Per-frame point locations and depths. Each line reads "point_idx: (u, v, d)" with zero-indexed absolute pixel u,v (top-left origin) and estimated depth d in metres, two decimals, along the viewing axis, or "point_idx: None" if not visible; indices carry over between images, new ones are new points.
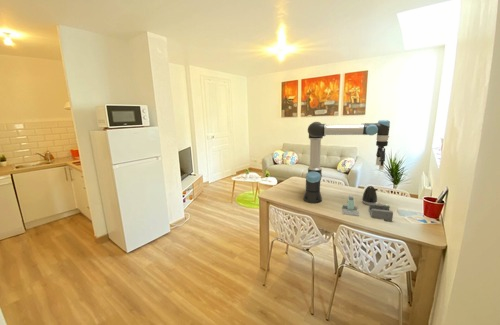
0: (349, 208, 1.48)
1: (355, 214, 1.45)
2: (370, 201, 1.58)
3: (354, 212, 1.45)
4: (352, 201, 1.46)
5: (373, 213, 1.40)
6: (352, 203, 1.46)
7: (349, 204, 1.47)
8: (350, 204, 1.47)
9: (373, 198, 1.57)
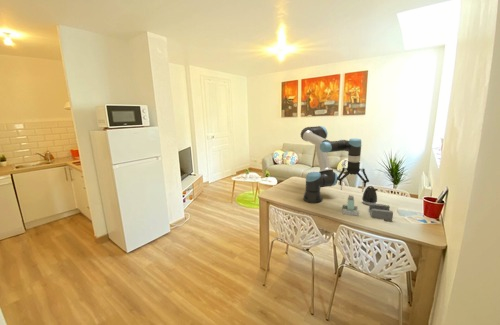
0: (349, 208, 1.48)
1: (355, 214, 1.45)
2: (370, 201, 1.58)
3: (354, 212, 1.45)
4: (352, 201, 1.46)
5: (373, 213, 1.40)
6: (352, 203, 1.46)
7: (349, 204, 1.47)
8: (350, 204, 1.47)
9: (373, 198, 1.57)
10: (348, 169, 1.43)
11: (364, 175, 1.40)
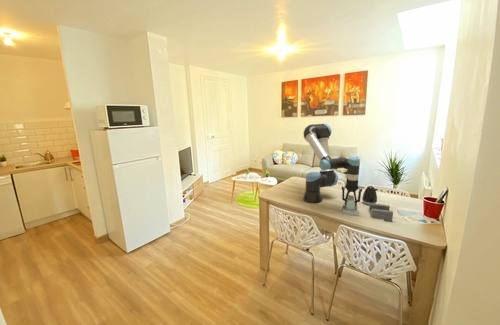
0: (349, 208, 1.48)
1: (355, 214, 1.45)
2: (370, 201, 1.58)
3: (354, 212, 1.45)
4: (352, 201, 1.46)
5: (373, 213, 1.40)
6: (352, 203, 1.46)
7: (349, 204, 1.47)
8: (350, 204, 1.47)
9: (373, 198, 1.57)
10: (347, 187, 1.46)
11: (359, 194, 1.44)
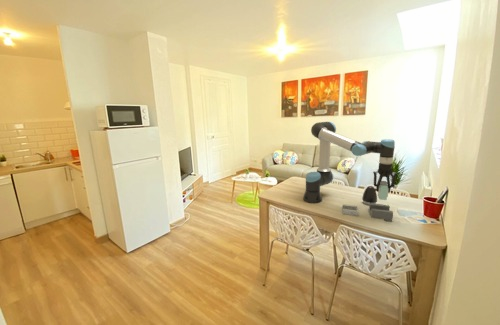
0: (382, 194, 1.38)
1: (355, 214, 1.45)
2: (370, 201, 1.58)
3: (354, 212, 1.45)
4: (385, 186, 1.37)
5: (373, 213, 1.40)
6: (385, 189, 1.37)
7: (382, 190, 1.38)
8: (383, 190, 1.38)
9: (373, 198, 1.57)
10: (379, 171, 1.37)
11: (393, 179, 1.35)
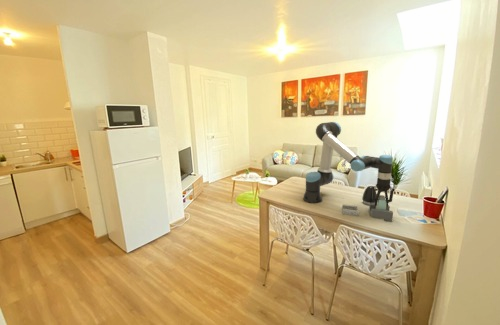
0: (380, 209, 1.41)
1: (355, 214, 1.45)
2: (370, 201, 1.58)
3: (354, 212, 1.45)
4: (383, 201, 1.39)
5: (373, 213, 1.40)
6: (383, 203, 1.39)
7: (380, 204, 1.40)
8: (381, 205, 1.40)
9: None
10: (378, 186, 1.40)
11: (391, 194, 1.38)
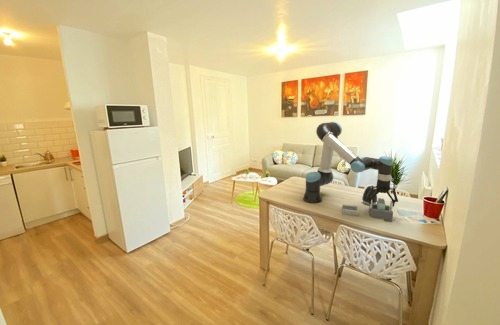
0: None
1: (355, 214, 1.45)
2: None
3: (354, 212, 1.45)
4: (383, 204, 1.40)
5: (373, 213, 1.40)
6: (383, 207, 1.40)
7: (379, 208, 1.41)
8: (380, 208, 1.41)
9: (373, 198, 1.57)
10: (378, 187, 1.40)
11: (394, 194, 1.37)
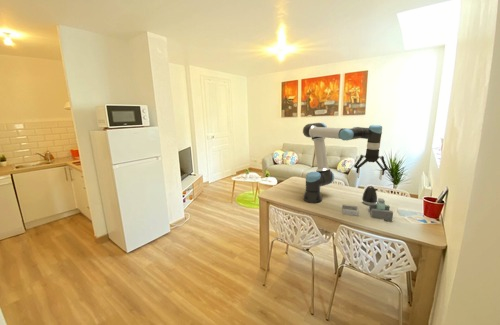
0: None
1: (355, 214, 1.45)
2: (370, 201, 1.58)
3: (354, 212, 1.45)
4: (383, 204, 1.40)
5: (373, 213, 1.40)
6: (383, 207, 1.40)
7: (379, 208, 1.41)
8: (380, 208, 1.41)
9: (373, 198, 1.57)
10: (366, 156, 1.40)
11: (383, 163, 1.37)
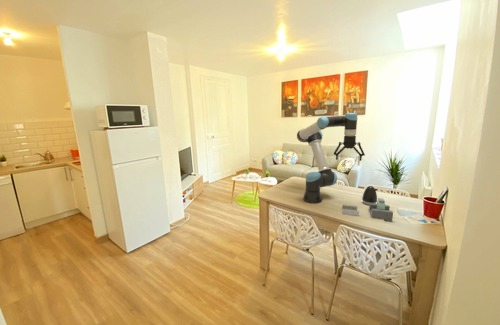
0: None
1: (355, 214, 1.45)
2: (370, 201, 1.58)
3: (354, 212, 1.45)
4: (383, 204, 1.40)
5: (373, 213, 1.40)
6: (383, 207, 1.40)
7: (379, 208, 1.41)
8: (380, 208, 1.41)
9: (373, 198, 1.57)
10: (344, 143, 1.47)
11: (360, 149, 1.44)
